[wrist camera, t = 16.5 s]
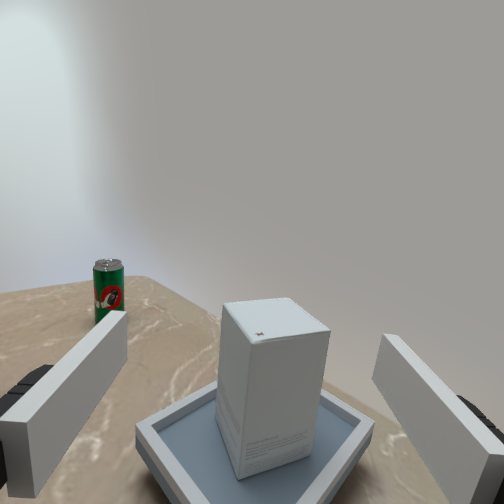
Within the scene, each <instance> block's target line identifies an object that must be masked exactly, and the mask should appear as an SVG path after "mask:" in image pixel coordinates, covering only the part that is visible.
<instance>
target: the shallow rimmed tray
mask: <svg viewBox="0 0 504 504" xmlns="http://www.w3.org/2000/svg"><path fill="white" fill-rule="evenodd" d="M217 381H218V380H216V381H214V382H212V383H210V384H208V385H207V386H205V387H203V388H201V389H199V390H197V391H196V392H194V393H192V394H190V395H188V396H186V397H185V398H183V399H181V400H179V401H177V402H175V403H174V404H172V405H170V406H168V407H166V408H164V409H163V410H161V411H159V412H157V413H155V414H153V415H152V416H150V417H148V418H146V419H144V420H142V421H141V422H139V423H137V424H135V426H136V449H137V451H138V453H139V454H140V456H141V457H142V459H143V460H144V462H145V464H146V465H147V467H148V468H149V470H150V471H151V473H152V474H153V476H154V478H155V479H156V481H157V482H158V484H159V485H160V487H161V488H162V490H163V492H164V493H165V495H166V496H167V498H168V499H169V501H170V502H171V504H329V503H330V502H331V500H332V499H333V497H334V496H335V495H336V493H337V492H338V490H339V489H340V487H341V486H342V484H343V483H344V481H345V480H346V478H347V477H348V475H349V474H350V472H351V471H352V469H353V468H354V466H355V465H356V463H357V462H358V460H359V459H360V457H361V456H362V454H363V453H364V451H365V450H366V448H367V447H368V446H369V444H370V442H371V437H372V433H373V428H374V424H375V421H374V420H372V419H370V418H369V417H367V416H365V415H364V414H362V413H361V412H359V411H357V410H356V409H354V408H353V407H351V406H349V405H348V404H346V403H344V402H343V401H341V400H340V399H338V398H336V397H335V396H333V395H331V394H330V393H328V392H327V391H325V390H323V389H322V388H321V394H320V400H319V407H318V413H317V419H316V426H315V432H314V438H313V444H312V450H311V454H310V455H309V456H307V457H305V458H302V459H299V460H296V461H293V462H291V463H287V464H285V465H282V466H279V467H276V468H273V469H270V470H267V471H264V472H261V473H258V474H255V475H252V476H249V477H246V478H243V479H240V480H238V479H237V477H236V474H235V471H234V468H233V465H232V462H231V460H230V457H229V454H228V451H227V448H226V446H225V443H224V440H223V437H222V434H221V431H220V429H219V426H218V423H217V420H216V417H215V408H216V395H217Z"/></svg>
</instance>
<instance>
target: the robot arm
mask: <svg viewBox="0 0 504 504" xmlns="http://www.w3.org/2000/svg"><path fill="white" fill-rule="evenodd" d="M126 361H127V312H125V311H113V310H112V311H110V312H109V313H108V314H107V315H106V316H105V317H104V318H103V319H102V320H101V321H100V322H99V323H98V324H97V325H96V326H95V327H94V328H93V329H92V330H91V331H90V332H89V333H88V334H87V335H86V336H85V337H84V338H82V339H81V340H80V341H79V342H78V343H77V344H76V345H75V346H74V347H73V348H72V349H71V350H70V351H69V352H68V353H67V354H66V355H65V356H64V357H63V358H62V359H61V360H60V361H59V362H58V363H57V364H56V365H43V366H41V367H39V368H37V369H35V370H34V371H32V372H30V373H28V374H27V375H26V376H25V377H24V378H23V379H22V380H21V381H19V382H18V383H17V385H15V386H14V387H13V388H12V389H10V390H9V391H8V393H7V394H5V395H4V396H3V397H1V398H0V489H1V488H2V487H3V486H4V484H5V483H7V490H8V497H17V498H36V497H37V495H38V494H39V492H40V491H41V489H42V488H43V486H44V485H45V483H46V482H47V480H48V479H49V477H50V476H51V474H52V473H53V471H54V470H55V468H56V467H57V465H58V463H59V462H60V460H61V459H62V457H63V456H64V454H65V453H66V451H67V450H68V448H69V447H70V445H71V444H72V442H73V441H74V439H75V438H76V436H77V435H78V433H79V432H80V430H81V429H82V427H83V426H84V424H85V423H86V421H87V420H88V418H89V417H90V415H91V414H92V412H93V411H94V409H95V408H96V406H97V405H98V403H99V402H100V400H101V399H102V397H103V396H104V394H105V393H106V391H107V390H108V388H109V387H110V385H111V384H112V382H113V381H114V379H115V378H116V376H117V375H118V373H119V372H120V370H121V369H122V367H123V366H124V364H125V363H126ZM372 380H373V381H374V383H375V385H376V386H377V388H378V390H379V391H380V393H381V394H382V396H383V397H384V399H385V401H386V402H387V404H388V405H389V407H390V409H391V410H392V412H393V413H394V415H395V416H396V418H397V420H398V421H399V423H400V424H401V426H402V428H403V429H404V431H405V432H406V434H407V436H408V437H409V439H410V440H411V442H412V444H413V445H414V447H415V448H416V450H417V451H418V453H419V455H420V456H421V458H422V459H423V461H424V463H425V464H426V466H427V467H428V469H429V471H430V472H431V474H432V475H433V477H434V478H435V480H436V482H437V483H438V485H439V486H440V488H441V490H442V491H443V493H444V494H445V496H446V497H447V499H448V501H449V502H450V504H504V434H503V433H502V432H501V431H500V430H499V429H496V426H495V425H494V424H493V423H492V422H491V421H490V420H489V419H486V416H484V414H483V413H481V411H480V410H479V409H478V408H477V407H476V406H475V405H473V404H472V403H470V402H469V401H467V400H466V399H464V398H463V397H461V396H459V395H455V394H454V393H453V392H452V391H451V390H450V389H449V388H448V387H447V386H446V385H445V384H444V383H443V382H442V381H441V380H440V378H439V377H437V375H436V374H435V373H434V372H432V370H431V369H430V368H429V367H428V366H427V365H426V364H425V363H424V362H423V361H422V360H421V359H420V358H419V357H418V356H417V355H416V354H415V353H414V352H413V351H412V350H411V349H410V348H409V347H408V346H407V345H406V344H405V343H404V341H402V339H401V338H400V337H399V336H398V335H393V334H383V335H382V339H381V343H380V347H379V351H378V356H377V359H376V364H375V368H374V372H373V376H372Z"/></svg>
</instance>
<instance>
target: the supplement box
mask: <svg viewBox="0 0 504 504" xmlns="http://www.w3.org/2000/svg"><path fill="white" fill-rule="evenodd" d="M330 332H331V330H330V329H329V328H327V327H326V326H325V325H323V324H322V323H321V322H319V321H318V320H317V319H315V318H314V317H312V316H311V315H310V314H309V313H307V312H306V311H305V310H304V309H302V308H301V307H300V306H298V305H297V304H296V303H295V302H293V301H292V300H290V299H289V298H276V299H263V300H252V301H242V302H232V303H224V304H223V310H222V321H221V336H220V351H219V366H218V381H217V395H216V408H215V417H216V420H217V423H218V426H219V429H220V431H221V434H222V437H223V440H224V443H225V446H226V448H227V451H228V454H229V457H230V460H231V462H232V465H233V468H234V471H235V474H236V477H237V479H238V480H240V479H243V478H246V477H249V476H252V475H255V474H258V473H261V472H264V471H267V470H270V469H273V468H276V467H279V466H282V465H285V464H287V463H291V462H293V461H296V460H299V459H302V458H305V457H307V456H309V455H310V454H311V450H312V444H313V438H314V432H315V426H316V419H317V413H318V407H319V400H320V394H321V388H322V382H323V375H324V368H325V363H326V356H327V350H328V344H329V338H330Z"/></svg>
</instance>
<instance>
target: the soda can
mask: <svg viewBox="0 0 504 504" xmlns="http://www.w3.org/2000/svg"><path fill="white" fill-rule="evenodd" d="M121 263H122V262H121V261H120V260H117V259H103V260H98V261H96V262H95V266H94V267H93V281H94V305H95V322H96V323H97V324H98V323H99V322H100V321H101V320H102V319H103V318H104V317H105V316H106V315H107V314H108V313H109V312H110V311H112V310H113V311H124V267H123V265H122V264H121Z"/></svg>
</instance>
